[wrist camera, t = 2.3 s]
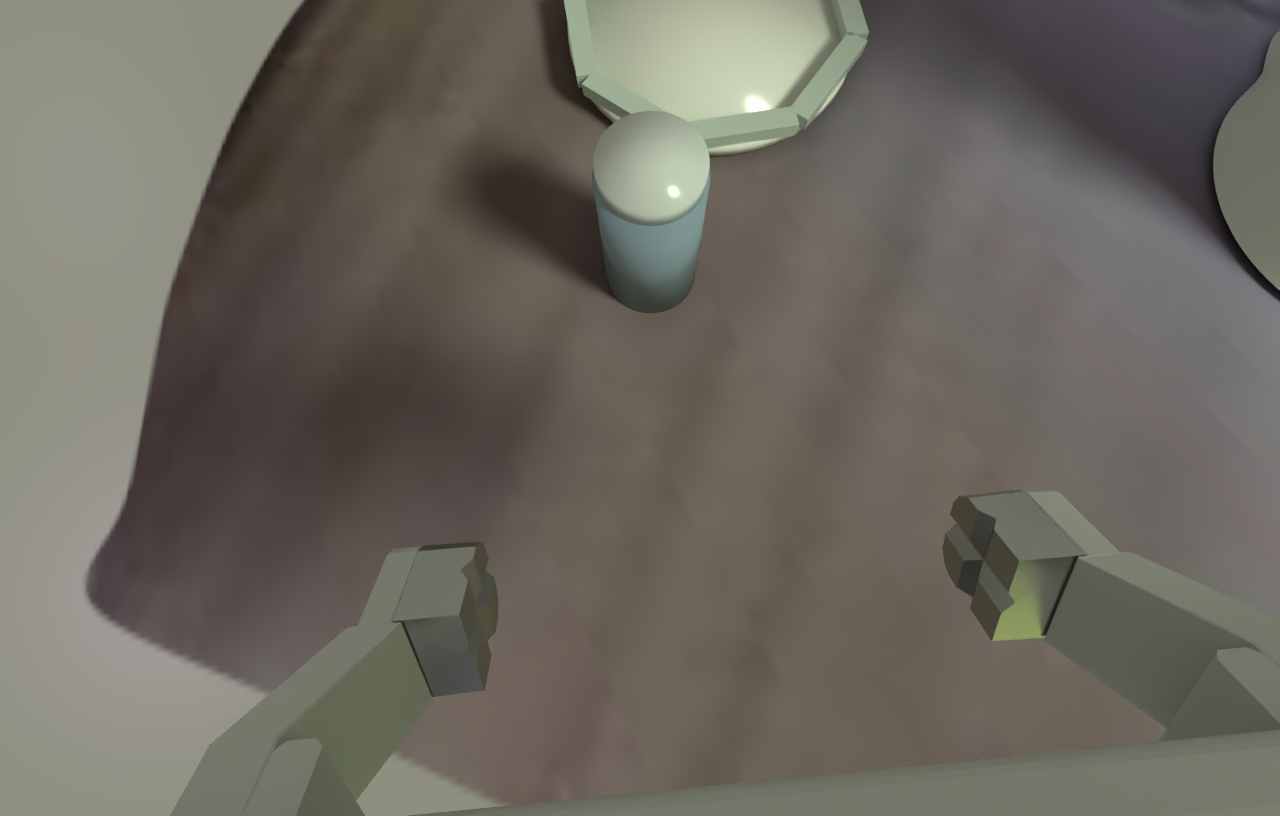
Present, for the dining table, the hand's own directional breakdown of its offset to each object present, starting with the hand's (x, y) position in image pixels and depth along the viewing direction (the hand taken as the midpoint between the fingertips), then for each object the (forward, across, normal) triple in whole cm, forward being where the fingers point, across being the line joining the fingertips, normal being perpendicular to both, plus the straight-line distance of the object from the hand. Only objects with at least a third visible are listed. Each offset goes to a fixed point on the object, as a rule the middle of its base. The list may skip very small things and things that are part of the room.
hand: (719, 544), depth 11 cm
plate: (+28, -4, -7) cm, 29 cm away
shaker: (+19, 0, +2) cm, 19 cm away
